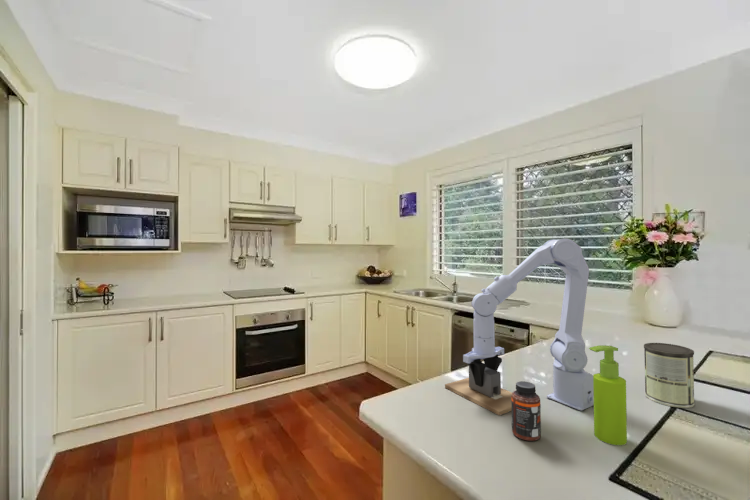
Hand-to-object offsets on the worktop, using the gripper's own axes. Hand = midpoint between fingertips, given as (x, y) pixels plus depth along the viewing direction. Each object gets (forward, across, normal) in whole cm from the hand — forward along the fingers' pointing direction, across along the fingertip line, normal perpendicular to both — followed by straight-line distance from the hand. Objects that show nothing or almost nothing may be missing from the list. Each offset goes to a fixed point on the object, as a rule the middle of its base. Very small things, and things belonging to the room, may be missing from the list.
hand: (484, 383), depth 96 cm
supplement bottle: (+3, +8, +19) cm, 21 cm away
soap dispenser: (+3, -6, +29) cm, 30 cm away
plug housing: (+2, 0, 0) cm, 2 cm away
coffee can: (+4, -40, +28) cm, 49 cm away
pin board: (+3, 0, 0) cm, 3 cm away
